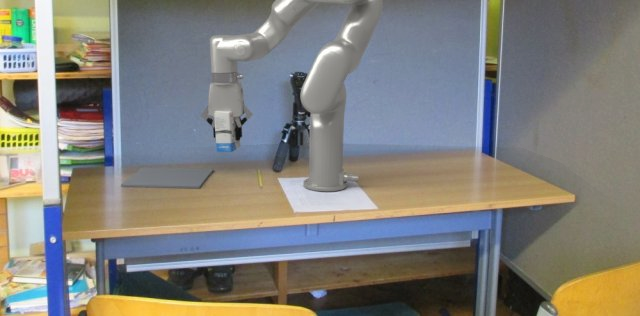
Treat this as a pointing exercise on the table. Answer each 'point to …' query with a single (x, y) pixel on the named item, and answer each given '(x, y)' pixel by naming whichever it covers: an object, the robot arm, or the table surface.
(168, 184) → the slate mat
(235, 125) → the ink box
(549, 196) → the table surface
